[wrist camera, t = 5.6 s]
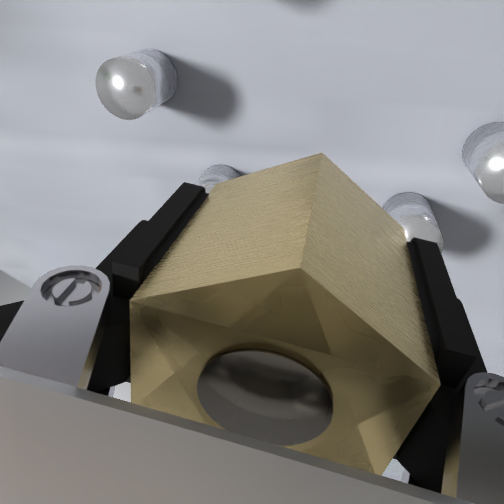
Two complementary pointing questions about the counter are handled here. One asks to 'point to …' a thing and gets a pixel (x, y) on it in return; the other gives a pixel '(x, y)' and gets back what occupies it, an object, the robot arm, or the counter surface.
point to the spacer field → (160, 90)
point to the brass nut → (288, 319)
